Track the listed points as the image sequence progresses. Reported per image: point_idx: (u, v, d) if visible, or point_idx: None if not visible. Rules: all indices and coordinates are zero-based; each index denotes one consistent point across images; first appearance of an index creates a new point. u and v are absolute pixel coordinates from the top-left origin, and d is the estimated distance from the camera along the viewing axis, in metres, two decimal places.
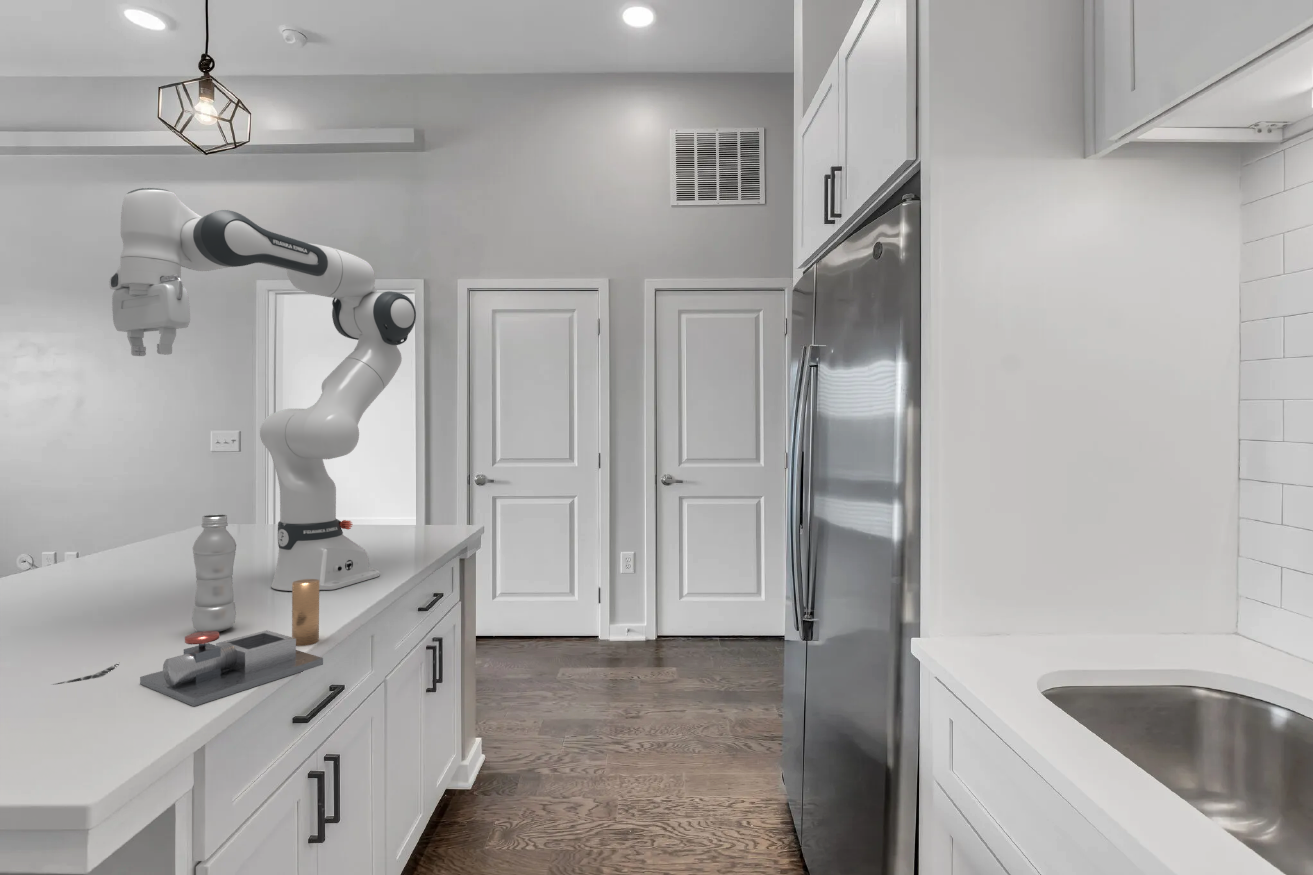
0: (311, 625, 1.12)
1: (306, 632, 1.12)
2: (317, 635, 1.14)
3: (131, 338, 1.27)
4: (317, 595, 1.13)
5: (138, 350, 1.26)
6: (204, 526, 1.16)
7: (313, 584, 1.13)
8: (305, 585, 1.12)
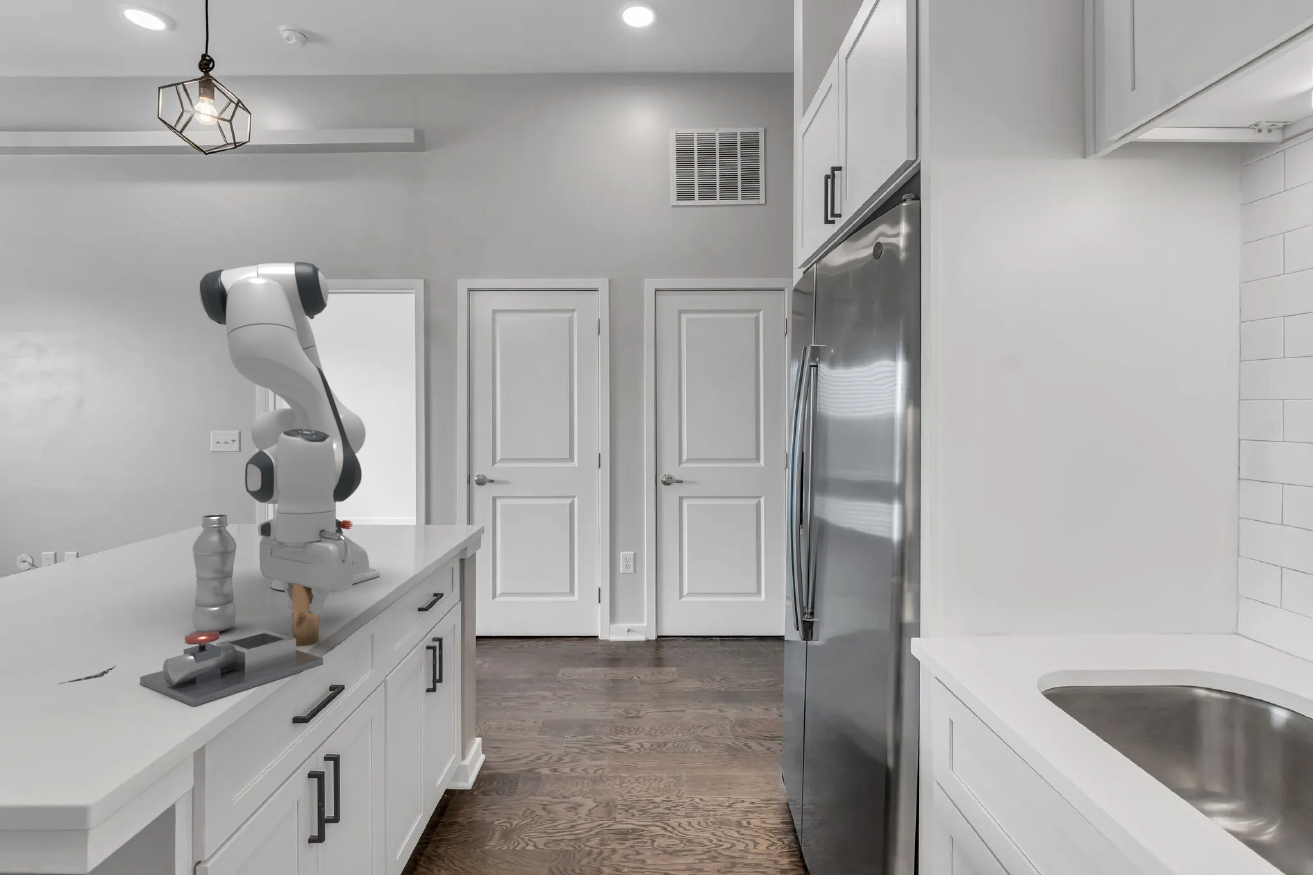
0: (311, 625, 1.12)
1: (306, 632, 1.12)
2: (317, 635, 1.14)
3: (288, 589, 1.15)
4: None
5: None
6: (204, 526, 1.16)
7: None
8: None
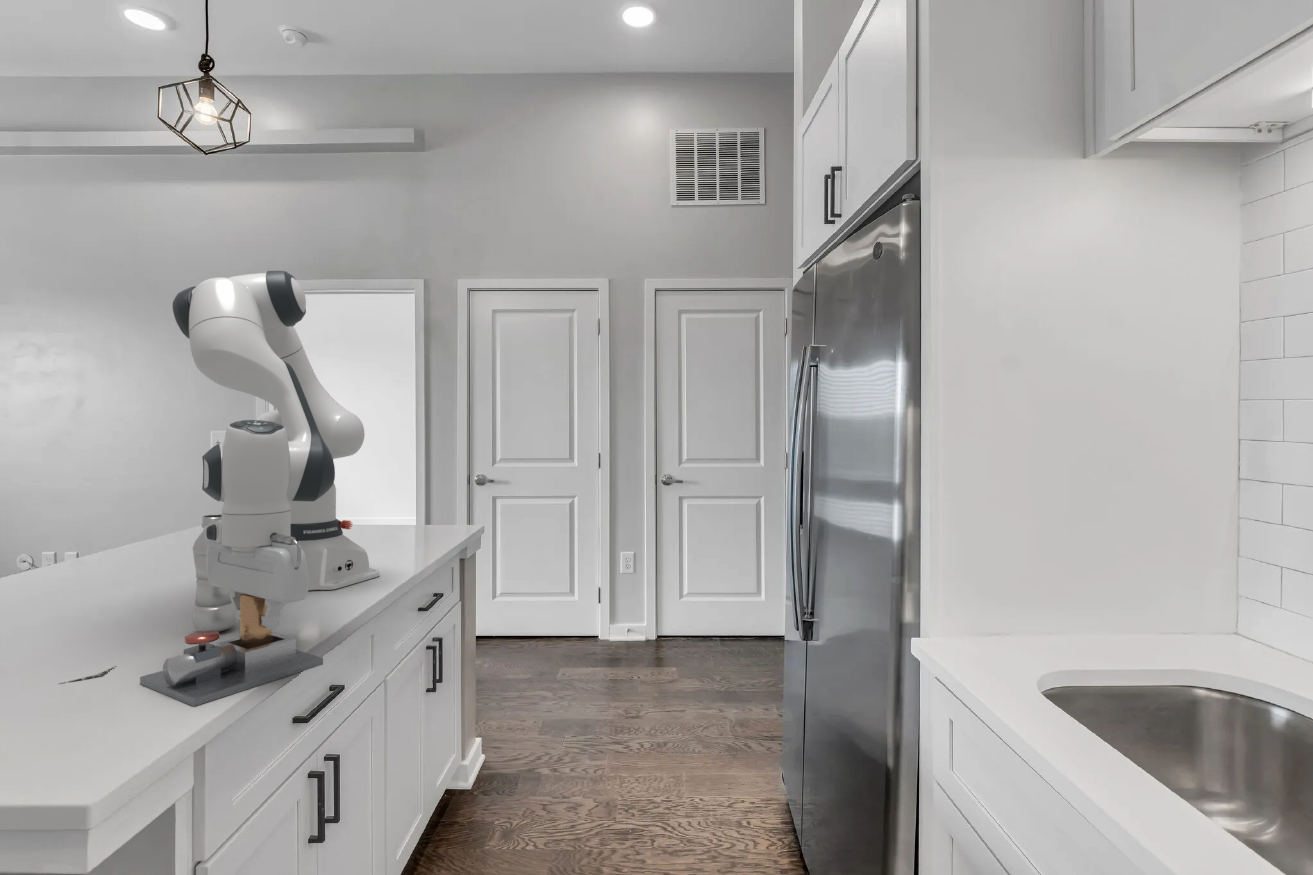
0: (261, 643, 1.00)
1: None
2: None
3: (234, 598, 1.03)
4: None
5: None
6: (204, 526, 1.16)
7: None
8: (254, 598, 1.00)
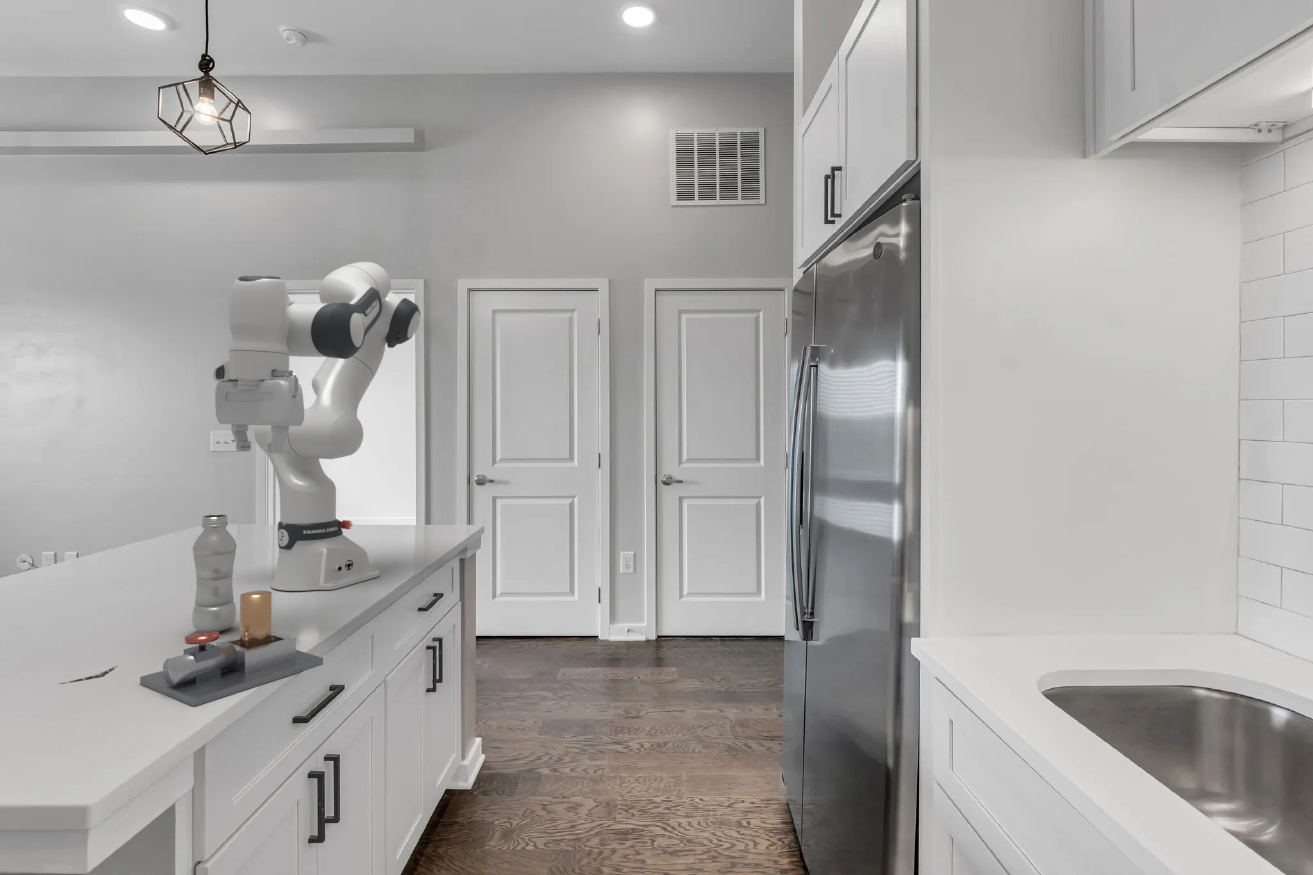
0: (261, 643, 1.00)
1: None
2: None
3: (236, 432, 1.18)
4: (269, 609, 1.01)
5: (243, 445, 1.18)
6: (204, 526, 1.16)
7: (264, 596, 1.01)
8: (254, 598, 1.00)
